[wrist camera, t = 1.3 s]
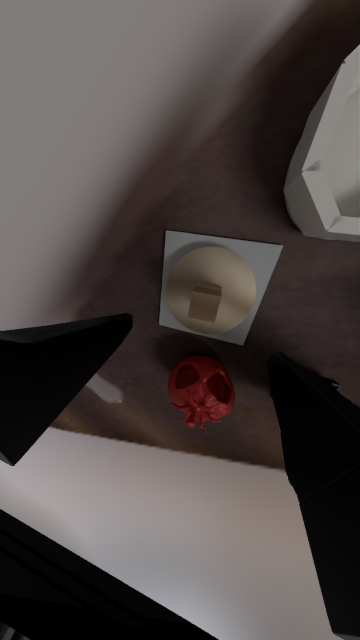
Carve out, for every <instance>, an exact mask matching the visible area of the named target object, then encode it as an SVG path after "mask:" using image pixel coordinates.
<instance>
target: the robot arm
mask: <svg viewBox="0 0 360 640" xmlns="http://www.w3.org/2000/svg"><path fill="white" fill-rule="evenodd" d="M132 326H133V317H132V315H131V314H128V313H124V314H118V315H111V316H105V317H99V318H92V319H86V320H80V321H74V322H70V323H69V322H67V323H61V324H54V325H47V326H40V327H32V328H23V329H15V330H7V331H0V460H2V461H3V462H5V463H7V464H9V465H11V466H14V465H15V464H16V463H17V462H18V461H19V460H20V459H21V458H22V457H23V456H24V454H25V453H26V452H27V451H28V450H29V449H30V448H31V446H32V445H33V444H34V443H35V442H36V441H37V439H38V438H39V437H40V436H41V435H42V434H43V433H44V432H45V430H46V429H47V428H48V427H49V426H50V425H51V424H52V423H53V421H54V420H55V419H56V418H57V417H58V416H59V415H60V413H61V412H62V411H63V410H64V408H66V406H67V405H68V404H69V403H70V402H71V401H72V400H73V398H74V397H75V396H76V395H77V394H78V393H79V392H80V390H81V389H82V388H83V387H84V386H85V385H86V384H87V382H88V381H89V380H90V379H91V378H92V376H94V374H95V373H96V372H97V371H98V370H99V369H100V368H101V366H102V365H103V364H104V363H105V362H106V361H107V360H108V358H109V357H110V356H111V355H112V354H113V353H114V352H115V350H116V349H117V348H118V347H119V346H120V345H121V343H122V342H123V340H124V339H125V338H126V336H127V335H128V333H129V332H130V330H131V329H132ZM267 368H268V376H269V383H270V390H271V394H272V399H273V402H274V406H275V410H276V414H277V418H278V422H279V426H280V430H281V439H282V440H281V441H282V448H283V455H284V462H285V469H286V474H287V476H288V480H289V483H290V484H291V486H293V488H294V490H295V492H296V494H297V497H298V500H299V503H300V504H299V505H300V509H301V513H302V517H303V521H304V525H305V529H306V533H307V537H308V541H309V544H310V548H311V552H312V556H313V560H314V564H315V568H316V572H317V576H318V580H319V584H320V588H321V592H322V596H323V600H324V604H325V608H326V612H327V616H328V619H329V623H330V626H331V629H332V632H333V634H335V635H337V636H338V637H340V638H342V639H344V640H360V407H358V406H357V405H355V404H353V403H352V402H351V401H350V400H348V399H347V398H346V397H344V396H343V395H341V394H340V393H339V392H338V391H339V390H340V389H341V386H340V385H339V383H336V382H332V381H329V380H326V379H322V378H318V377H316V376H315V375H313V374H312V373H310V372H309V371H308V370H306V369H305V368H303V367H302V366H301V365H299V364H298V363H296V362H295V361H293V360H292V359H291V358H289V357H288V356H286V355H285V354H284V353H282V352H278V351H274V352H273V353H272V355H271V357H270V359H269V361H268V363H267ZM0 640H218V639H217V638H215V637H214V636H212V635H210V634H209V633H207V632H205V631H204V630H202V629H201V628H199V627H197V626H196V625H194V624H192V623H191V622H189V621H187V620H186V619H184V618H182V617H181V616H179V615H177V614H176V613H174V612H172V611H170V610H169V609H167V608H166V607H164V606H162V605H161V604H159V603H157V602H156V601H154V600H152V599H150V598H149V597H147V596H145V595H144V594H142V593H140V592H139V591H137V590H135V589H133V588H132V587H130V586H128V585H127V584H125V583H123V582H122V581H120V580H119V579H117V578H115V577H114V576H112V575H110V574H108V573H107V572H105V571H103V570H102V569H100V568H98V567H97V566H95V565H93V564H92V563H90V562H88V561H87V560H85V559H83V558H82V557H80V556H78V555H77V554H75V553H73V552H72V551H70V550H68V549H67V548H65V547H63V546H61V545H60V544H58V543H56V542H55V541H53V540H51V539H50V538H48V537H46V536H45V535H43V534H41V533H40V532H38V531H36V530H35V529H33V528H31V527H30V526H28V525H26V524H25V523H23V522H21V521H19V520H18V519H16V518H15V517H13V516H11V515H9V514H8V513H6V512H4V511H3V510H1V509H0Z"/></svg>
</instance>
